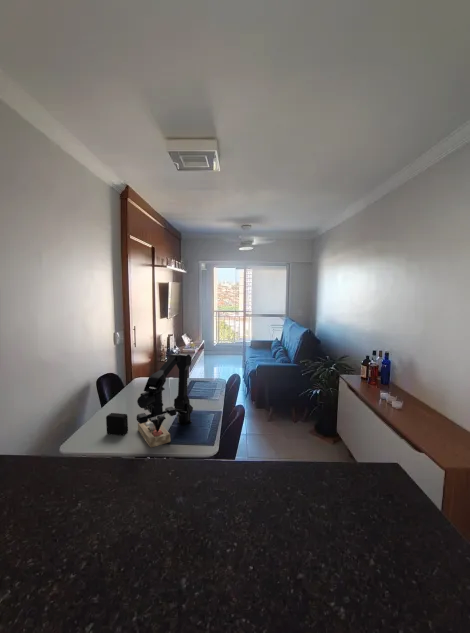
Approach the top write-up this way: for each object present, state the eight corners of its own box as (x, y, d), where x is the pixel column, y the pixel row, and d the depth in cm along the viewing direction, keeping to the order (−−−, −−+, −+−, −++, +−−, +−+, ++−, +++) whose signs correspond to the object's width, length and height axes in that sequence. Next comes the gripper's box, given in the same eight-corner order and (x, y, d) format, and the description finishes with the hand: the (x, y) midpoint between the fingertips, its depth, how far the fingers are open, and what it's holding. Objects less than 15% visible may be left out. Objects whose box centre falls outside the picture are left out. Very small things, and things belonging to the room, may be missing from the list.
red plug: (160, 436, 152) (159, 428, 151) (162, 439, 148) (162, 431, 148) (152, 438, 150) (152, 430, 149) (155, 441, 146) (154, 433, 146)
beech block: (156, 425, 166) (155, 418, 166) (170, 441, 148) (170, 434, 148) (138, 430, 161) (137, 423, 161) (150, 447, 143) (150, 439, 142)
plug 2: (155, 427, 157) (155, 420, 157) (158, 430, 154) (158, 422, 153) (148, 429, 155) (148, 421, 155) (150, 432, 152) (150, 424, 151)
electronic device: (123, 435, 155) (123, 417, 154) (106, 434, 157) (105, 415, 156) (128, 432, 159) (127, 414, 158) (111, 430, 161) (110, 412, 160)
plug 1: (152, 427, 163) (151, 420, 162) (154, 430, 159) (154, 423, 159) (144, 429, 160) (144, 422, 160) (147, 432, 157) (146, 425, 157)
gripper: (168, 392, 159) (169, 420, 161) (133, 400, 149) (134, 429, 150) (176, 399, 150) (177, 428, 151) (139, 407, 140) (140, 438, 141)
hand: (157, 431), depth 149 cm, fingers closed
